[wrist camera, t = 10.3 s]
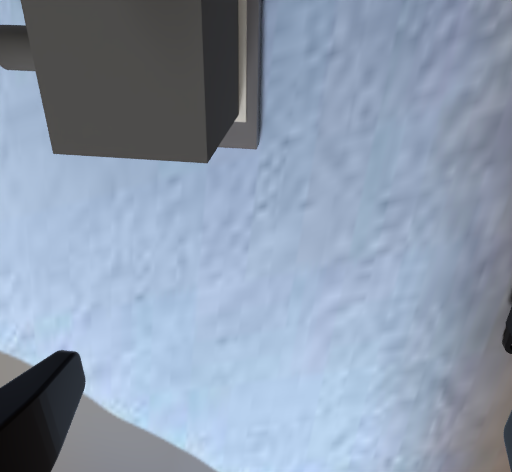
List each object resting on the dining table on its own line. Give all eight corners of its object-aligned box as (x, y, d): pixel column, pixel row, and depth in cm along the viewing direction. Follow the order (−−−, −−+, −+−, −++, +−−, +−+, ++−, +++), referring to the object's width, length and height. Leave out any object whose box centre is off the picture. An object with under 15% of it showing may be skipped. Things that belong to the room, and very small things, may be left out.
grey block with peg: (239, -23, 17) (200, -26, 11) (239, 114, 19) (207, 163, 14) (14, -27, 18) (-116, -31, 12) (42, 104, 20) (-57, 146, 15)
